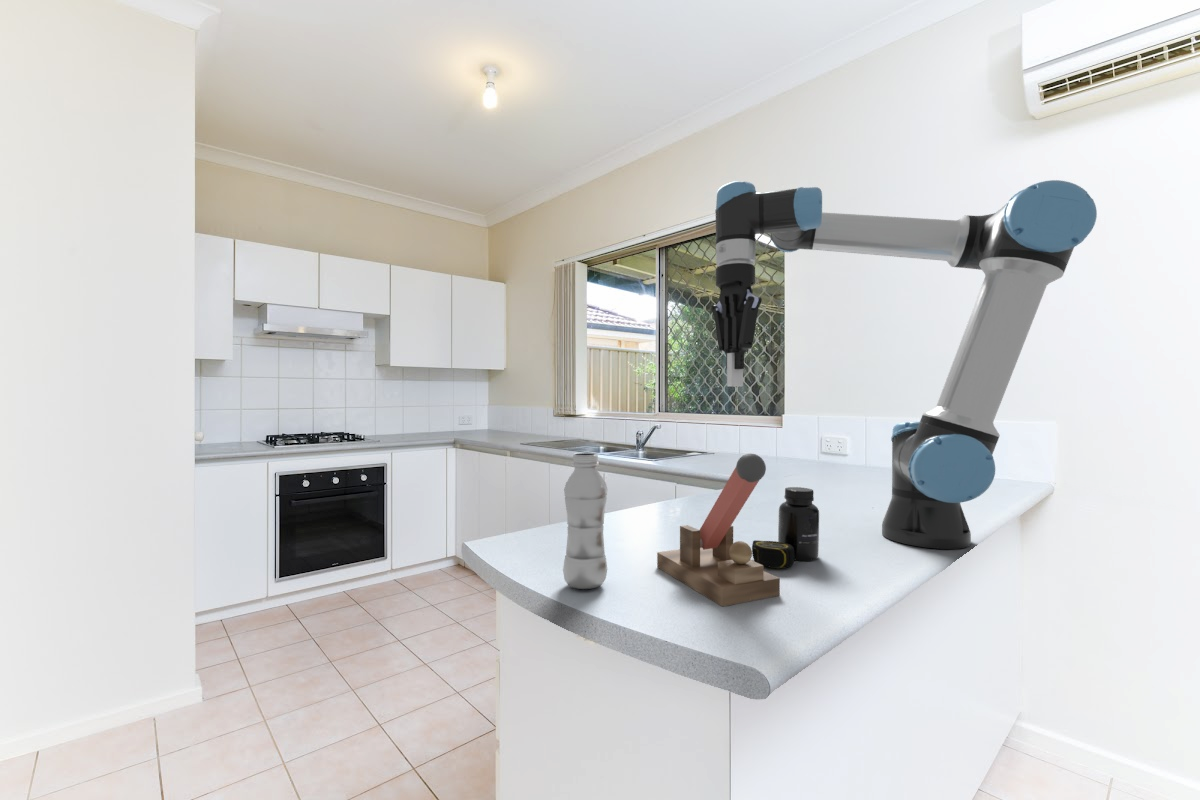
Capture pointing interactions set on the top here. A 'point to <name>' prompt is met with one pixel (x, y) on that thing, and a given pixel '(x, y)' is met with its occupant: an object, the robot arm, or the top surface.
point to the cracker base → (708, 570)
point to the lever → (731, 500)
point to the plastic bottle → (585, 524)
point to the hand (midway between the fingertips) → (735, 386)
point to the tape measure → (773, 554)
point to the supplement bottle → (799, 523)
